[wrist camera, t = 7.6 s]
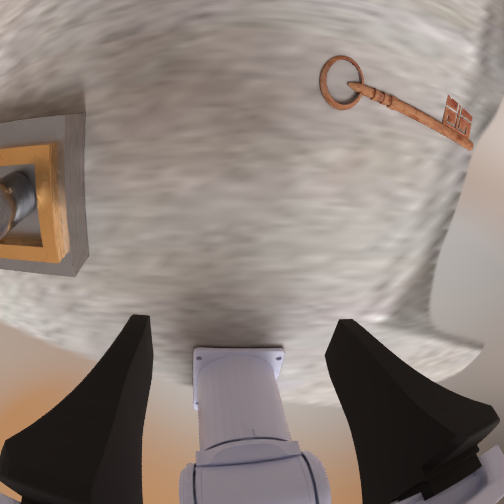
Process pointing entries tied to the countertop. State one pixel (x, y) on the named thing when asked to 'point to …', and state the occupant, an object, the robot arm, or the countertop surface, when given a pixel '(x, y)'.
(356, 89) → the key
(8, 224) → the peg
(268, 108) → the countertop surface
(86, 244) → the chuck block
